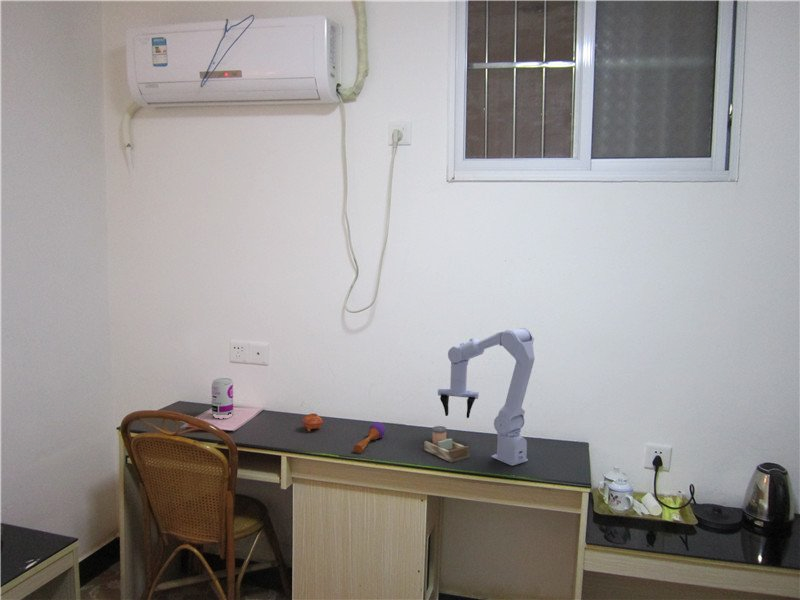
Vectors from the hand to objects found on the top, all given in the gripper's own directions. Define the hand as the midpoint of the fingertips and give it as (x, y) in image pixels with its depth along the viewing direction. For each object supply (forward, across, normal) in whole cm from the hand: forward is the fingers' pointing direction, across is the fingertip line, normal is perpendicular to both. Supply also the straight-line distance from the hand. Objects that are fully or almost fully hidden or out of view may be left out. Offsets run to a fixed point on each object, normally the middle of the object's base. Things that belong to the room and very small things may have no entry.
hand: (457, 416), depth 210 cm
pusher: (+8, -2, -12) cm, 15 cm away
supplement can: (+10, -95, -1) cm, 95 cm away
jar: (+8, -4, -11) cm, 14 cm away
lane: (+9, -1, -13) cm, 16 cm away
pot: (+10, -54, -5) cm, 55 cm away
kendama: (+10, -29, -12) cm, 33 cm away
